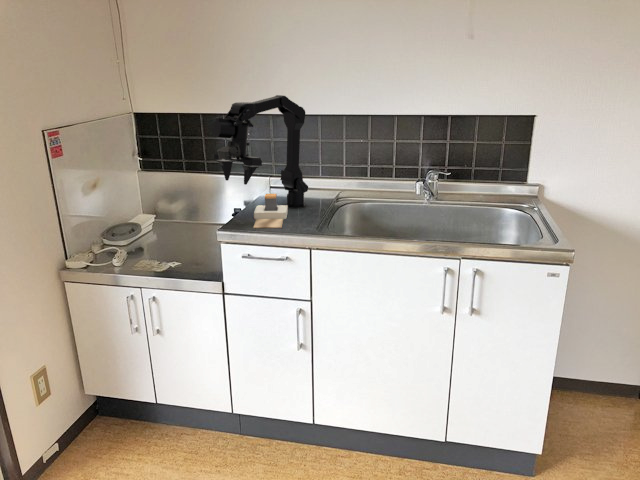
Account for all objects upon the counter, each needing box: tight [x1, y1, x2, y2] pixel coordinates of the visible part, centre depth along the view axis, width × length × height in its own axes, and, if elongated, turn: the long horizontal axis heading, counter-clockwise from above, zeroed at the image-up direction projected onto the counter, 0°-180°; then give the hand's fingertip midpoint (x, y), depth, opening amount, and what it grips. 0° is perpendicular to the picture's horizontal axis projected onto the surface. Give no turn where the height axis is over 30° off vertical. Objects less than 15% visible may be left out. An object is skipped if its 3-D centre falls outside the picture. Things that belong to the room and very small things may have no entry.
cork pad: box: [252, 219, 284, 229], centre depth 196 cm, size 10×10×1 cm
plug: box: [264, 193, 278, 211], centre depth 205 cm, size 4×4×8 cm
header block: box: [253, 204, 289, 220], centre depth 206 cm, size 12×10×3 cm
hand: (236, 182), depth 195 cm, fingers open, 9 cm apart
